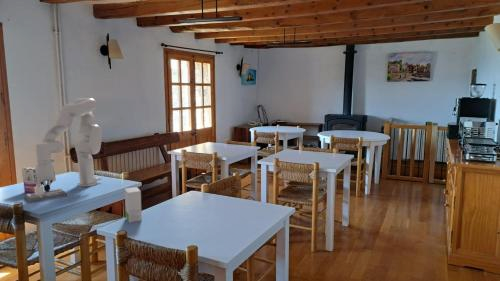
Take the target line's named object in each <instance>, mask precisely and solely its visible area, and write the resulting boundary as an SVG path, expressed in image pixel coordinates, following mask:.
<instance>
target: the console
mask: <svg viewBox="0 0 500 281" xmlns="http://www.w3.org/2000/svg"><path fill="white" fill-rule="evenodd" d="M67 194H68V193H67V192H66V191H64V190H63V189H61V188H55V189H52V190H51V189H50V190H49V192H46V191H44V194H41V195H35V193H26V194H25V195H24V198H25V200H27V201H28V202H29V203H30V204H33V203H37V202H43V201H48V200H53V199H58V198H62V197H67V196H68V195H67ZM32 202H33V203H32Z"/></svg>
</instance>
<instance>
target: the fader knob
mask: <svg viewBox="0 0 500 281" xmlns="http://www.w3.org/2000/svg"><path fill="white" fill-rule="evenodd" d="M34 190H35V195H41V194H44V185H42V186H37V187H34Z"/></svg>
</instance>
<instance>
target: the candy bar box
mask: <svg viewBox="0 0 500 281" xmlns="http://www.w3.org/2000/svg"><path fill="white" fill-rule="evenodd" d="M21 169H22V180H23V189H24V193H25V194H33V193H35V190H34V187H37V186H43V185H42V184H37V183H36V182H37V180H36V166H35V167H34V166H26V167H23V168H21Z"/></svg>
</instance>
